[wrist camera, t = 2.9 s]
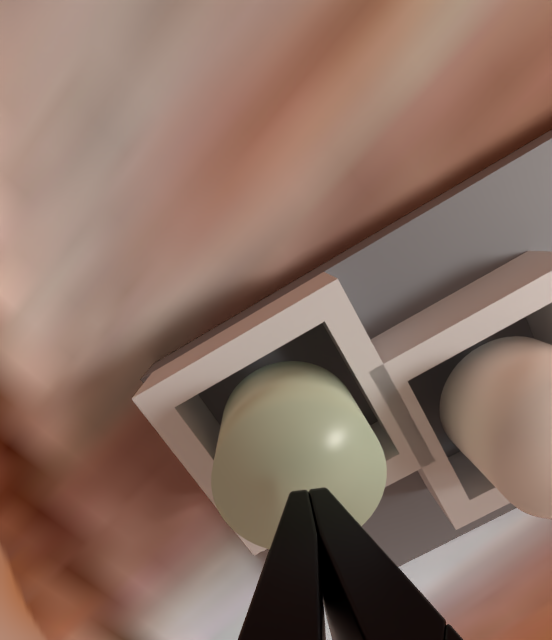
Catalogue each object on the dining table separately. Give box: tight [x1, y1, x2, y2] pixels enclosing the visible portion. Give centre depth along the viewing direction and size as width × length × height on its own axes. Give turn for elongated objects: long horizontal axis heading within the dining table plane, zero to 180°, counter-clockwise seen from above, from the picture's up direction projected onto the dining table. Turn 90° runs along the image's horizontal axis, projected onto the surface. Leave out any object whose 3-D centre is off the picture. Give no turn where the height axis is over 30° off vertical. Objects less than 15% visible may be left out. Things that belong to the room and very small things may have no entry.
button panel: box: [132, 130, 552, 604], centre depth 12 cm, size 13×22×4 cm, turn 120°
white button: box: [439, 336, 552, 519], centre depth 10 cm, size 4×4×3 cm
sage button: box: [211, 361, 387, 549], centre depth 10 cm, size 4×4×3 cm
